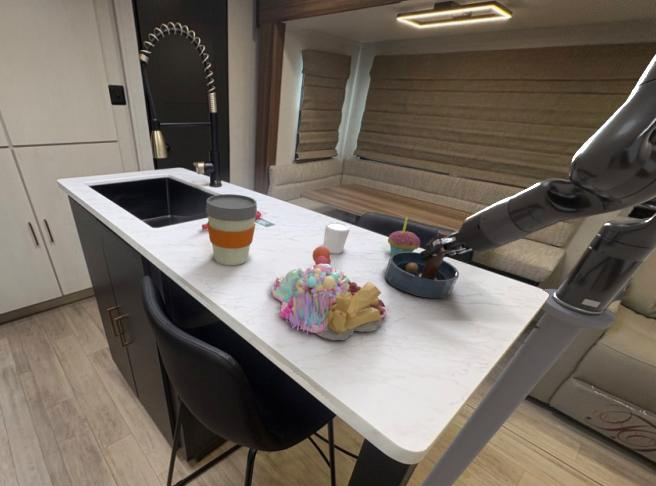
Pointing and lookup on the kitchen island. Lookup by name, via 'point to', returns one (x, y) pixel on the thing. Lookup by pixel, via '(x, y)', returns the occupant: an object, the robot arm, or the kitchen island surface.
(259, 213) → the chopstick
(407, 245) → the cupcake
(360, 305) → the multicoloured low lumpy mound
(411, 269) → the bead
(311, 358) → the kitchen island surface
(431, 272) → the brown flared cylinder
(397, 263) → the bowl
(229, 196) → the reusable coffee cup
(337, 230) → the white short cylinder
